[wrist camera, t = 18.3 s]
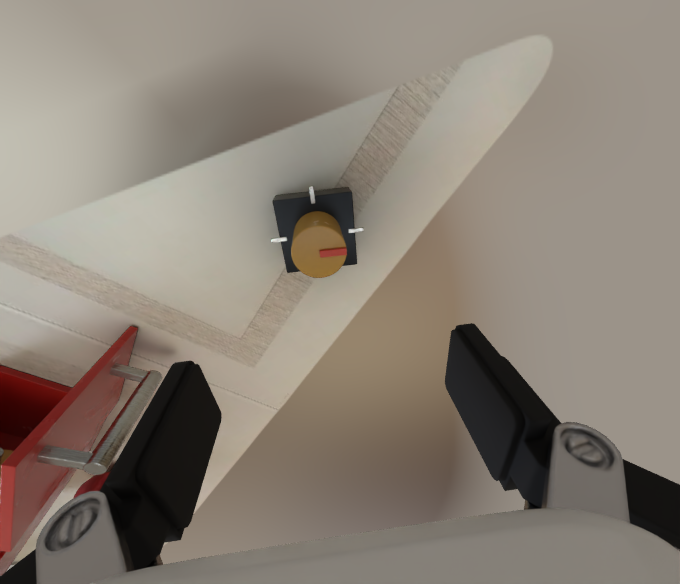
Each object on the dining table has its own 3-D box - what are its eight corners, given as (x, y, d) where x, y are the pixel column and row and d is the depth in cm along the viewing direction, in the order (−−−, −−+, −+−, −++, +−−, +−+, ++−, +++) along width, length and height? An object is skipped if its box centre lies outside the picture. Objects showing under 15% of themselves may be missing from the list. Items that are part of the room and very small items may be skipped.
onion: (84, 464, 43) (40, 528, 36) (121, 456, 43) (85, 519, 36) (107, 484, 46) (71, 547, 39) (142, 477, 46) (112, 539, 39)
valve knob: (297, 259, 28) (295, 282, 23) (290, 213, 26) (286, 229, 21) (342, 254, 28) (348, 276, 24) (339, 208, 26) (345, 223, 22)
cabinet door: (180, 341, 34) (94, 479, 20) (157, 409, 39) (74, 557, 25) (130, 325, 32) (0, 465, 19) (112, 398, 37) (-2, 551, 23)
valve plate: (265, 187, 27) (260, 192, 25) (356, 176, 27) (360, 181, 25) (282, 271, 31) (280, 282, 29) (361, 261, 31) (365, 271, 29)
